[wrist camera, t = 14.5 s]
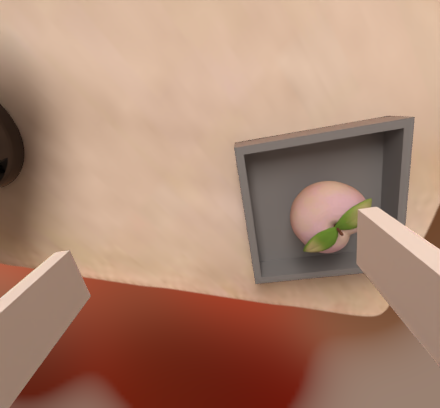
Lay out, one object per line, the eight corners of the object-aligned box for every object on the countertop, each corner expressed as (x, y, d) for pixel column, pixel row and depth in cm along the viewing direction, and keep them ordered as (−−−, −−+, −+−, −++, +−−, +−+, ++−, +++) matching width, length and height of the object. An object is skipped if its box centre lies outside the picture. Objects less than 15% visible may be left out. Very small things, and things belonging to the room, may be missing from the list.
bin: (253, 264, 41) (255, 283, 36) (234, 142, 34) (234, 147, 30) (381, 250, 39) (401, 269, 34) (388, 115, 32) (414, 116, 27)
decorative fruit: (312, 158, 33) (341, 176, 24) (358, 191, 35) (403, 220, 25) (270, 211, 37) (281, 245, 27) (313, 240, 38) (338, 282, 28)
